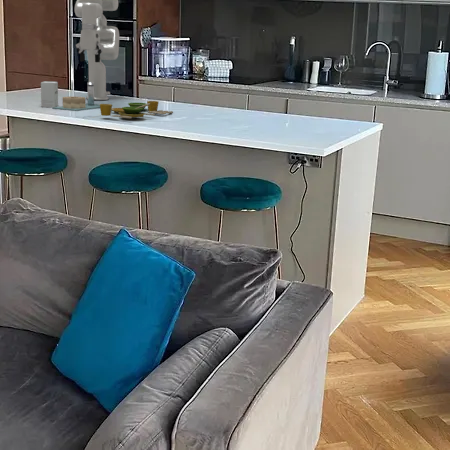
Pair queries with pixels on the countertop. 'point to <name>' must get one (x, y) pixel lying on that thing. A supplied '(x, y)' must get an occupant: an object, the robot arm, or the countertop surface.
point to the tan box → (74, 102)
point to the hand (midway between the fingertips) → (89, 61)
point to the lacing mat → (79, 109)
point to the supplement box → (49, 94)
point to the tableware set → (132, 109)
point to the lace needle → (90, 93)
